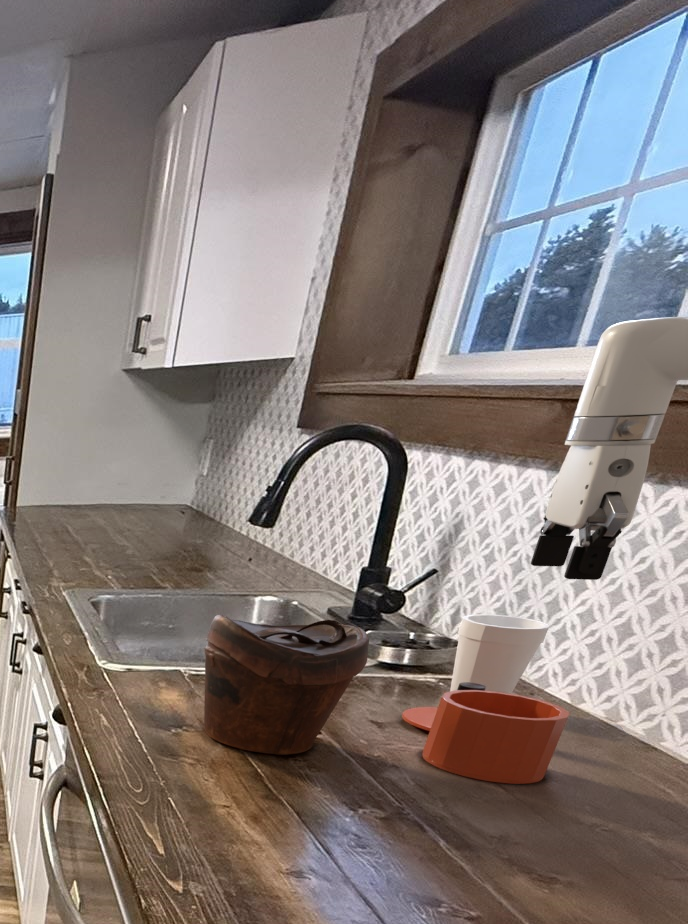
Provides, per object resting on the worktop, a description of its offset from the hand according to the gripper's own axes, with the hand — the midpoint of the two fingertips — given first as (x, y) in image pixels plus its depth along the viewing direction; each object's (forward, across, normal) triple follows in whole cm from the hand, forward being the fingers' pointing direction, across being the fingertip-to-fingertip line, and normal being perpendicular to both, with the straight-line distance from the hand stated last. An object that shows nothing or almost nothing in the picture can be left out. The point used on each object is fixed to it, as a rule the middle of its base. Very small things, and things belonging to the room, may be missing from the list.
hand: (563, 572), depth 107 cm
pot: (+23, -13, +6) cm, 27 cm away
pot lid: (+22, +2, +5) cm, 23 cm away
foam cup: (+23, +16, -1) cm, 29 cm away
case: (+23, -12, +30) cm, 40 cm away
